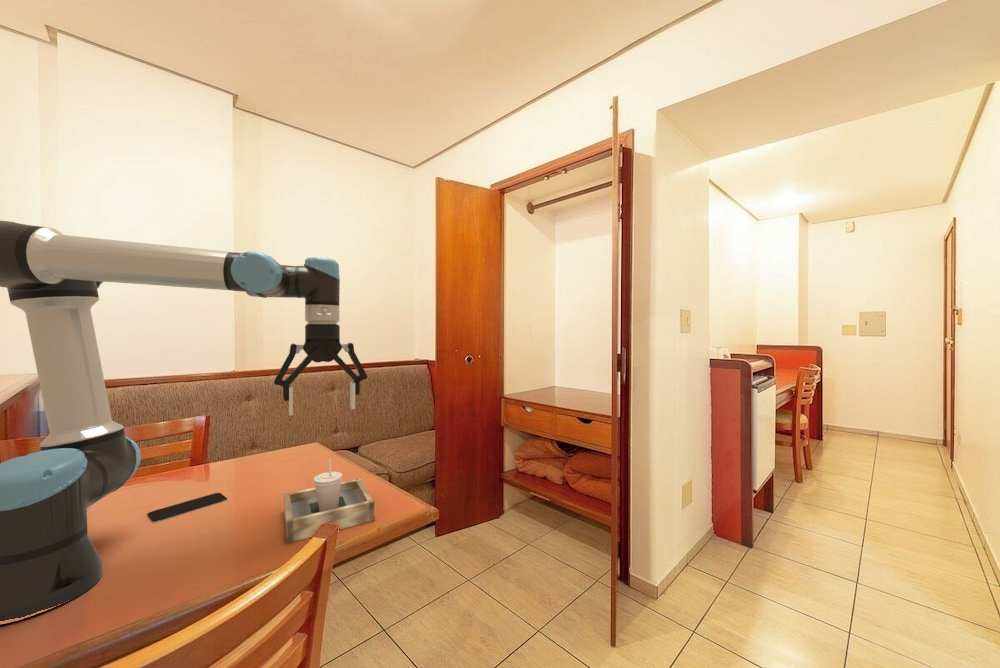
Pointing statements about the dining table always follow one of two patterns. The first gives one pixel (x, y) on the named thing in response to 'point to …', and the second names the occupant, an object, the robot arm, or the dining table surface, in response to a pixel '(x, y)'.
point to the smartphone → (185, 507)
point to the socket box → (305, 503)
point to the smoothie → (328, 489)
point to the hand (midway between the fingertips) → (323, 411)
